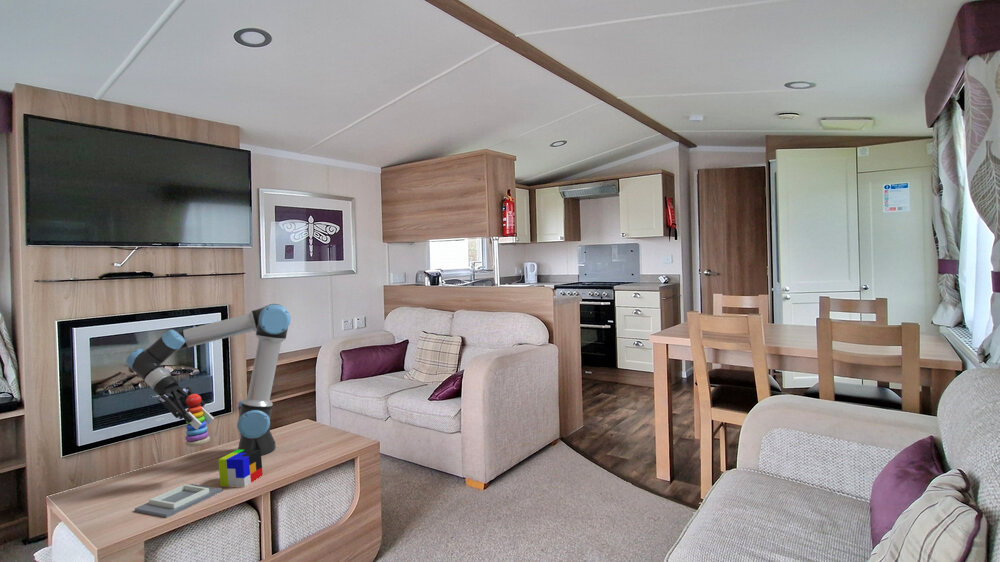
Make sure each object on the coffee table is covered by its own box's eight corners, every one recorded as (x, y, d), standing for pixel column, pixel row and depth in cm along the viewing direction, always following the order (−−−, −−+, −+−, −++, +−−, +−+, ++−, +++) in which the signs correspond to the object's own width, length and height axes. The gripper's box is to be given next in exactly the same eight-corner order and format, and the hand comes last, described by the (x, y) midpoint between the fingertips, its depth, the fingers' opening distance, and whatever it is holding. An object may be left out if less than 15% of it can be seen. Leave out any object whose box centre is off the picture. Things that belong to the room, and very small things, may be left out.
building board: (191, 486, 191) (191, 479, 191) (222, 491, 184) (221, 484, 184) (134, 511, 172) (134, 503, 172) (166, 517, 166) (166, 509, 166)
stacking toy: (215, 440, 197) (210, 391, 196) (195, 448, 190) (189, 397, 189) (201, 439, 200) (196, 391, 200) (181, 446, 193) (175, 396, 192)
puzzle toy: (244, 487, 187) (242, 459, 187) (220, 486, 189) (218, 459, 189) (262, 475, 197) (260, 449, 197) (239, 475, 199) (237, 449, 199)
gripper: (175, 383, 206) (217, 423, 204) (135, 396, 188) (180, 439, 186) (186, 369, 205) (228, 409, 203) (147, 380, 187) (192, 424, 185)
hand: (205, 423), depth 194 cm, fingers closed on stacking toy, 6 cm apart
